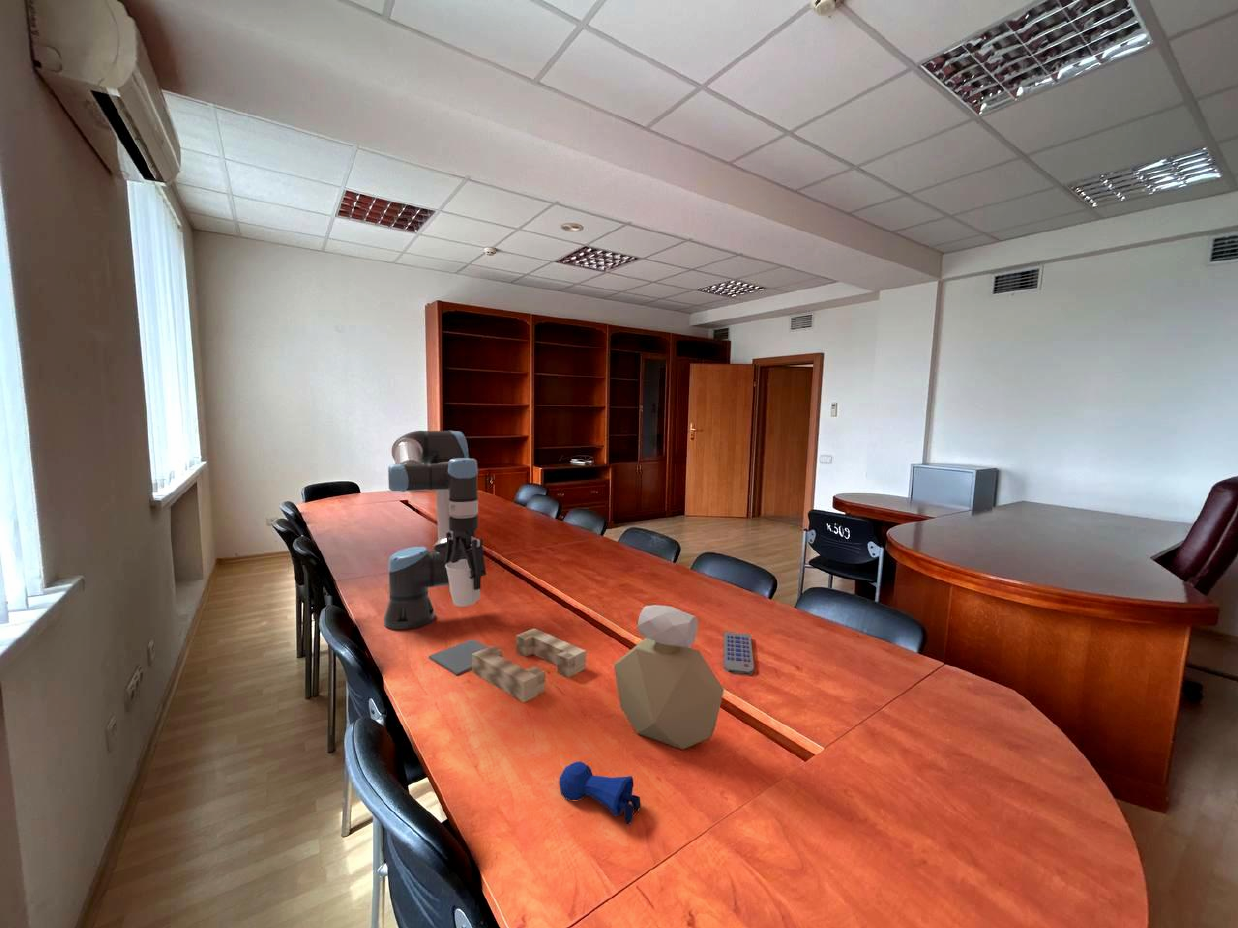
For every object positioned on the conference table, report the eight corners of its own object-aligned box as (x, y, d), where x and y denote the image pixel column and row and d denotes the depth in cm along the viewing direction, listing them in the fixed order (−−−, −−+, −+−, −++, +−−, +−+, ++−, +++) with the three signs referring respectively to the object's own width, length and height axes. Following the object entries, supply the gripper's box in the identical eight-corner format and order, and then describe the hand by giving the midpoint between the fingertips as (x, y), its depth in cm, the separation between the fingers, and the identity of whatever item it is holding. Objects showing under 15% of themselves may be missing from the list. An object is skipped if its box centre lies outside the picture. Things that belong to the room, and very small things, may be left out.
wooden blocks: (472, 672, 128) (472, 653, 127) (533, 644, 144) (533, 628, 144) (524, 702, 115) (524, 682, 114) (585, 668, 131) (585, 650, 130)
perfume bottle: (710, 771, 93) (715, 630, 91) (602, 730, 105) (604, 604, 102) (728, 735, 104) (733, 608, 101) (628, 702, 115) (631, 587, 113)
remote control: (750, 640, 150) (750, 633, 150) (754, 677, 128) (754, 669, 128) (723, 637, 152) (724, 630, 152) (723, 673, 130) (723, 665, 130)
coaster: (428, 657, 135) (428, 655, 135) (472, 640, 146) (472, 638, 146) (457, 675, 126) (457, 673, 126) (501, 655, 137) (501, 653, 137)
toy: (643, 806, 85) (572, 772, 93) (645, 774, 85) (574, 741, 92) (624, 835, 79) (550, 795, 87) (626, 800, 79) (552, 763, 86)
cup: (472, 611, 129) (472, 570, 128) (438, 608, 131) (437, 567, 130) (489, 598, 138) (489, 560, 137) (457, 595, 140) (457, 557, 139)
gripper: (429, 512, 136) (431, 590, 138) (475, 523, 122) (476, 610, 124) (453, 508, 142) (454, 583, 144) (499, 519, 128) (500, 602, 130)
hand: (464, 595), depth 134 cm, fingers closed on cup, 9 cm apart
